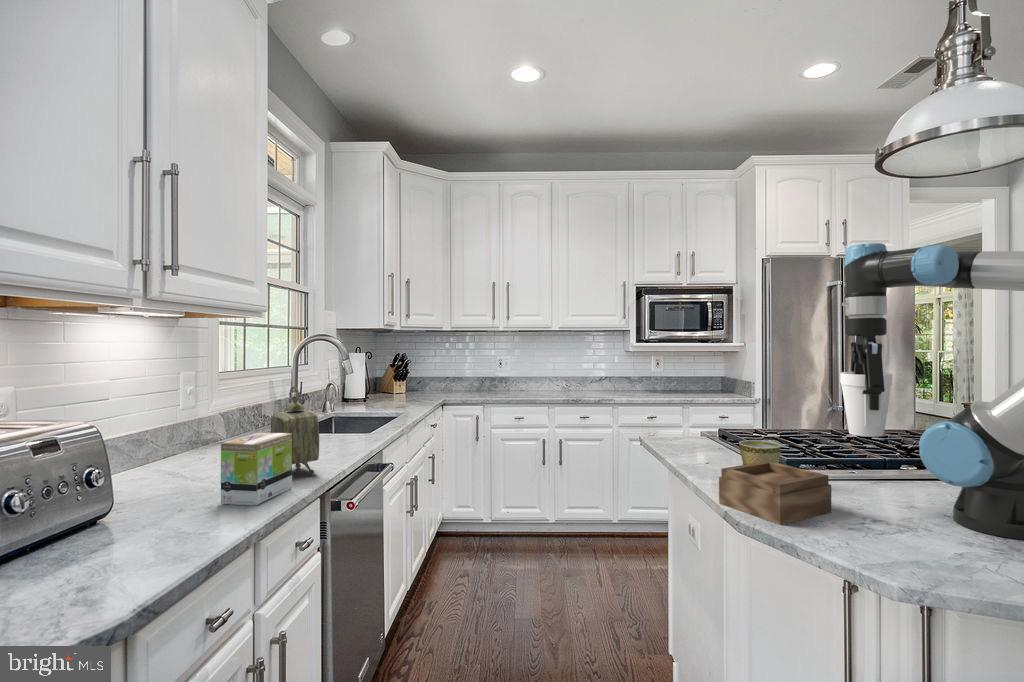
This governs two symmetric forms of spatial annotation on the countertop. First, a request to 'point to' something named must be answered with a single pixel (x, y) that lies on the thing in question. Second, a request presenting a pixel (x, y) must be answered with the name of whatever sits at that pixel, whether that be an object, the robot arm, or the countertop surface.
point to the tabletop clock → (299, 431)
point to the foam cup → (862, 404)
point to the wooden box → (775, 491)
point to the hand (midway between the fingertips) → (866, 421)
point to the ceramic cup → (759, 451)
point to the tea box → (255, 468)
